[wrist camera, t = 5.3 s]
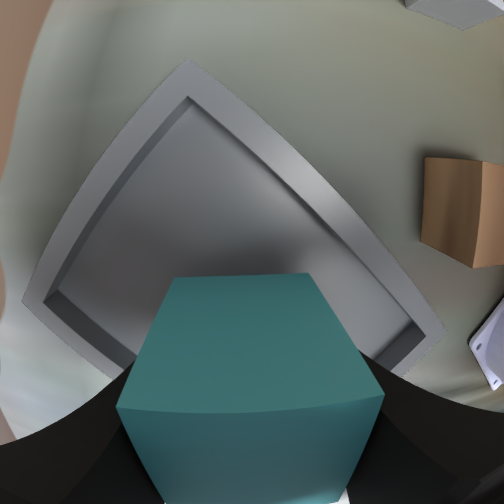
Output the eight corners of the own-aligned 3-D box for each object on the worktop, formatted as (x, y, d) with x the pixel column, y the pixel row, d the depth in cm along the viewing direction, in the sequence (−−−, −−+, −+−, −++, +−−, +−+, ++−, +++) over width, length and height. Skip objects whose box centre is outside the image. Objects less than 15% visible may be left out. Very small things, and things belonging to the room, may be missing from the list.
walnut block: (477, 165, 12) (532, 173, 8) (472, 238, 13) (522, 261, 9) (423, 157, 11) (482, 161, 8) (419, 240, 13) (472, 268, 9)
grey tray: (427, 313, 14) (447, 330, 12) (272, 441, 16) (276, 465, 14) (194, 73, 10) (187, 57, 8) (42, 284, 12) (21, 301, 10)
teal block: (308, 272, 10) (385, 394, 4) (300, 375, 11) (338, 501, 6) (174, 277, 10) (115, 407, 4) (189, 380, 11) (170, 510, 5)
